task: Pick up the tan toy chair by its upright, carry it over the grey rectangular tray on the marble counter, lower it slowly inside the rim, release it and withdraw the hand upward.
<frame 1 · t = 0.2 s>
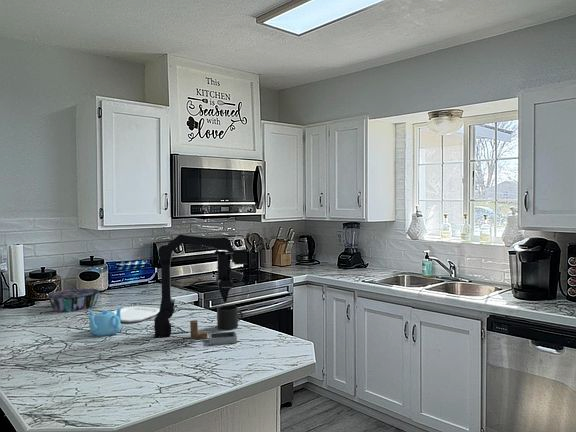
hand: (224, 299, 207), 14 cm above the worktop, fingers open, 9 cm apart
mug: (230, 327, 214), on the worktop
grey rectangular tray: (222, 341, 193), on the worktop
teapot: (104, 332, 209), on the worktop
tan toy chair: (197, 337, 199), on the worktop
plate: (132, 317, 237), on the worktop
decorative bowl: (74, 308, 259), on the worktop
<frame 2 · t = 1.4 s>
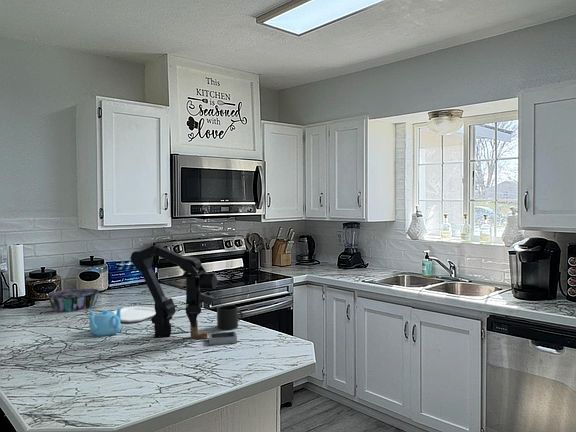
hand: (193, 324, 198), 6 cm above the worktop, fingers open, 9 cm apart
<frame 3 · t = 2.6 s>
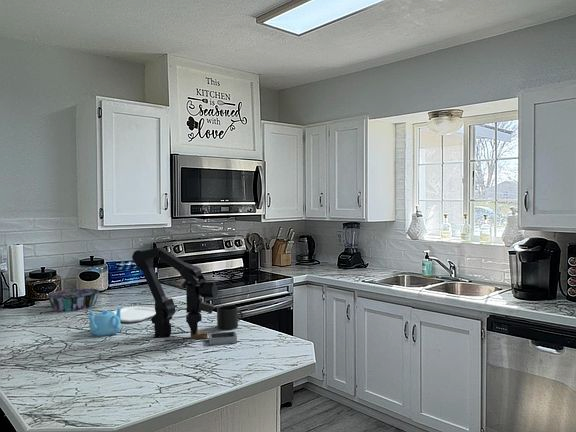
hand: (194, 333, 198), 2 cm above the worktop, fingers closed on tan toy chair, 4 cm apart
tan toy chair: (197, 337, 199), on the worktop, touching gripper
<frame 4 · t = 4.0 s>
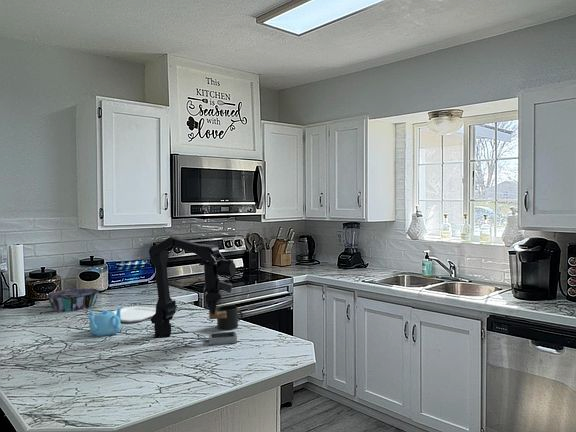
hand: (212, 313, 193), 12 cm above the worktop, fingers closed on tan toy chair, 4 cm apart
tan toy chair: (216, 317, 194), point 10 cm above the worktop, touching gripper
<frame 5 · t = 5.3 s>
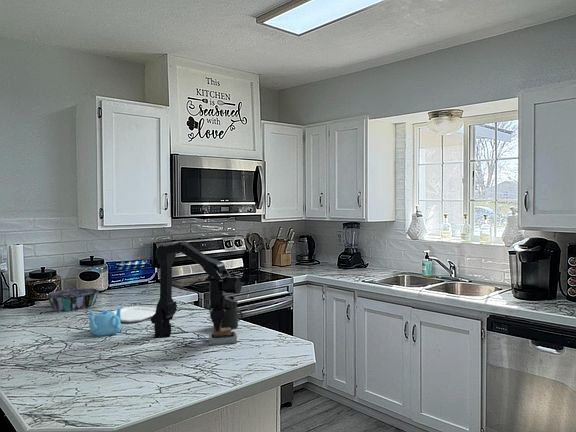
hand: (217, 329, 192), 5 cm above the worktop, fingers closed on tan toy chair, 4 cm apart
tan toy chair: (221, 334, 193), point 3 cm above the worktop, touching gripper
when the fingers open (3 cm above the worktop, at t = 5.9 s): tan toy chair drops 1 cm, resting on grey rectangular tray.
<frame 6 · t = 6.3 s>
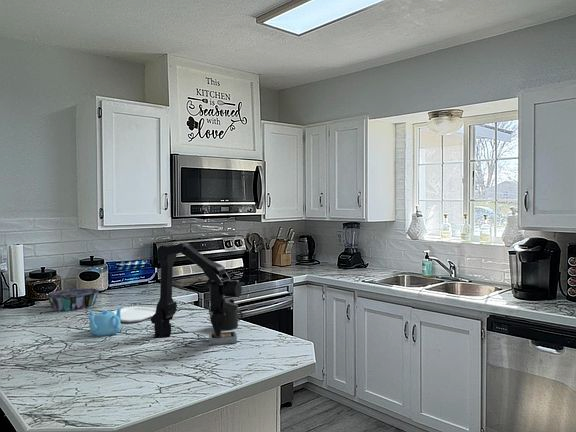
hand: (217, 333, 192), 3 cm above the worktop, fingers open, 8 cm apart
tan toy chair: (221, 340, 193), resting on grey rectangular tray
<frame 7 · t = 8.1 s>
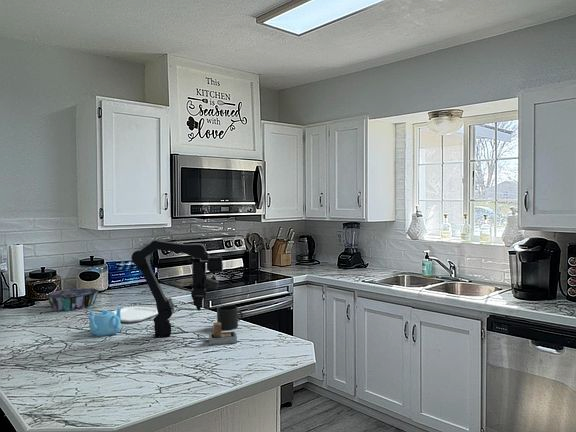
hand: (199, 308, 203), 11 cm above the worktop, fingers open, 9 cm apart
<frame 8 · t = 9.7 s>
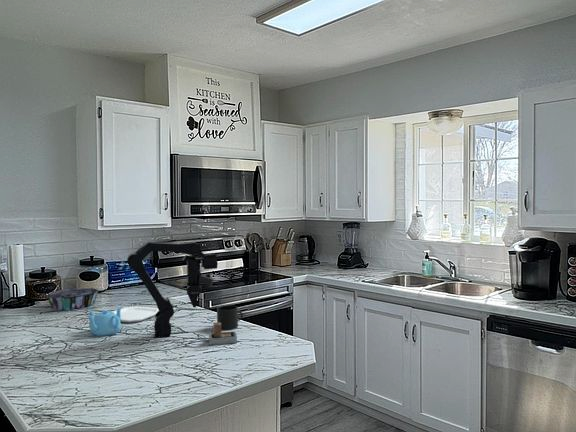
hand: (194, 305, 207), 12 cm above the worktop, fingers open, 9 cm apart
at the end: tan toy chair 0.1 cm off-centre on the grey rectangular tray, point 0.4 cm above the grey rectangular tray's base; tan toy chair tilted 0°; the gripper is holding nothing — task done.
